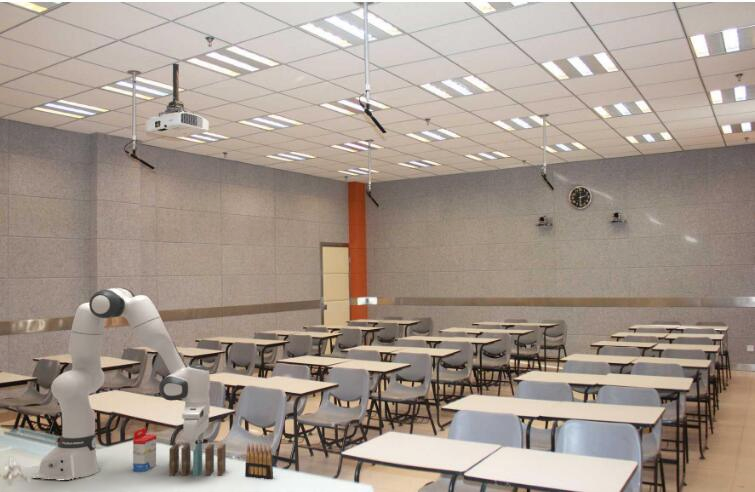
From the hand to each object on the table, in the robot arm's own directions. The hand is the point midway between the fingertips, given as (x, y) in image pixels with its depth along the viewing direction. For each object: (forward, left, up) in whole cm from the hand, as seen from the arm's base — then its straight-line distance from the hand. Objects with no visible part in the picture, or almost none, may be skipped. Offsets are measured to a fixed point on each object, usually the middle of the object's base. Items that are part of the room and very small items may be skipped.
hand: (196, 446), depth 235 cm
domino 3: (0, 0, -10) cm, 10 cm away
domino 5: (+9, 0, -10) cm, 14 cm away
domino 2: (-4, 0, -10) cm, 11 cm away
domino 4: (+5, 0, -10) cm, 11 cm away
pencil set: (+24, -5, -10) cm, 27 cm away
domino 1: (-8, 0, -10) cm, 13 cm away
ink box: (-22, +7, -10) cm, 25 cm away
